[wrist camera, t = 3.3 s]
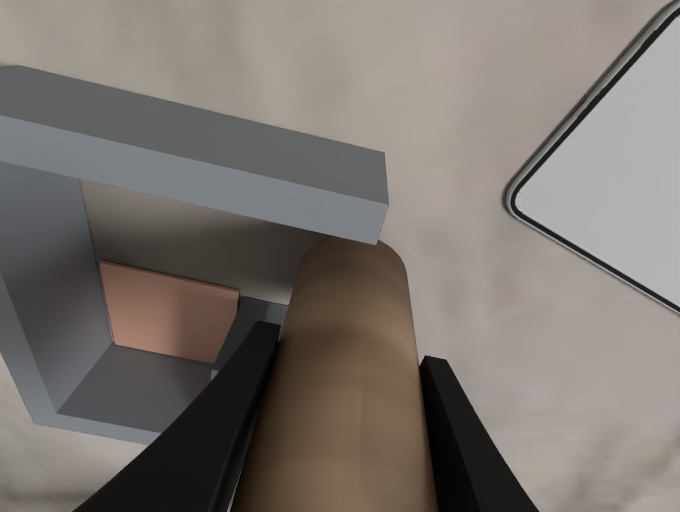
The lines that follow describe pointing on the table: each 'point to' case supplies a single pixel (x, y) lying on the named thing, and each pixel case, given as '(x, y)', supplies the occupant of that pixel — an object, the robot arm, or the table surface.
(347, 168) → the channel
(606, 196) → the smartphone
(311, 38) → the table surface
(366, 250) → the peg
